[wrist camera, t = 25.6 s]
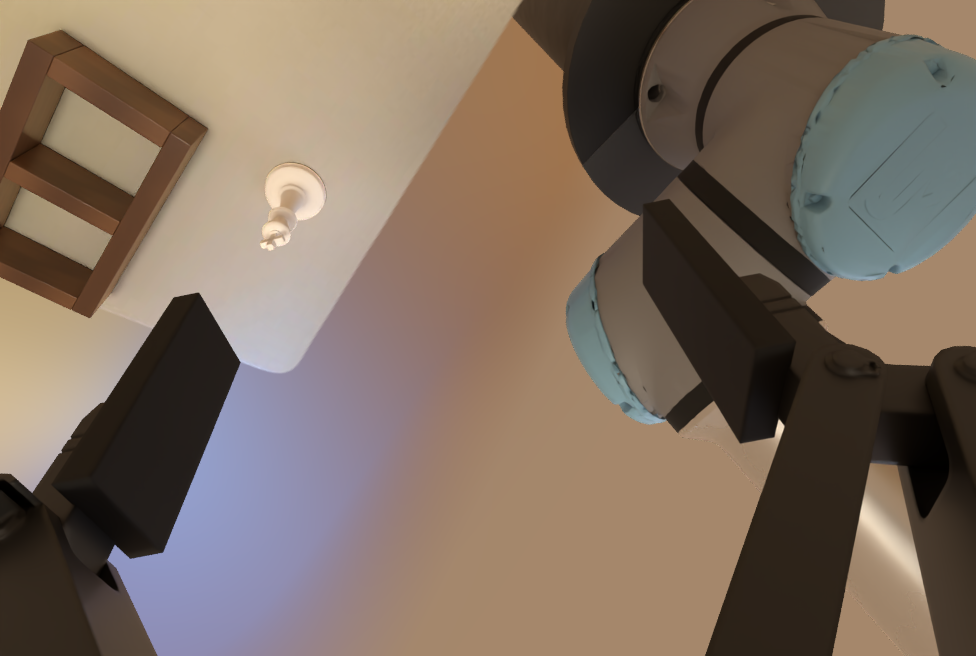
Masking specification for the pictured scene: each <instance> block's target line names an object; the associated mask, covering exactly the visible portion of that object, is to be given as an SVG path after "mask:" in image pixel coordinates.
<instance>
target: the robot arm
mask: <svg viewBox="0 0 976 656" xmlns="http://www.w3.org/2000/svg"><path fill="white" fill-rule="evenodd" d="M633 97H634V110H635V116H636V120H637V124H638V126H639V129H640V131H641V133H642V135H643V137H644V139H645V140H646V142H647V143H648V145H649V146H650V147H651V148H652V149H653V150H654V151H655V152H656V153H657V154H658V155H659V156H660V157H661V158H662V159H663V160H664V161H666V162H667V163H668V164H670V165H671V166H673V167H675V168H677V169H679V170H682V172H681V173H680V174H679V175H678V176H677V177H676V178H675V179H674V180H673V181H672V182H671V183H670V184H669V185H668V186H667V188H666V189H665V190H664V191H663V192H662V193H661V194H660V195H659V196H658V197H657V198H656V199H655V200H654V202H650V203H645V204H643V213H642V214H641V216H640V217H639V218H638V219H637V220H636V221H635V222H634V223H633V224H632V225H631V226H630V227H629V228H628V229H627V230H626V231H625V232H624V233H623V235H621V237H620V238H619V239H618V240H617V241H616V242H615V243H614V244H613V245H612V246H611V247H610V248H609V249H608V250H607V251H606V252H605V253H603V254H602V255H600V256H599V257H598V258H597V259H596V260H595V261H594V263H593V265H592V267H591V270H590V271H589V272H588V273H587V275H586V276H585V277H584V278H583V279H582V280H581V282H580V283H579V284H578V285H577V286H576V287H575V289H574V290H573V291H572V293H571V294H570V296H569V299H568V301H567V306H566V317H567V318H566V325H567V330H568V334H569V337H570V340H571V343H572V345H573V348H574V350H575V352H576V354H577V356H578V358H579V359H580V361H581V363H582V365H583V367H584V368H585V370H586V371H587V373H588V374H589V376H590V377H591V379H592V380H593V382H594V383H595V384H596V385H597V386H598V388H599V389H600V390H601V392H602V393H603V394H604V395H605V396H606V397H607V398H608V399H609V400H610V401H611V402H612V403H613V404H619V405H620V407H621V409H622V411H623V412H624V413H625V414H626V415H627V416H629V417H630V418H632V419H634V420H636V421H638V422H641V423H645V424H655V423H662V422H665V421H666V420H667V421H668V422H669V423H670V424H671V425H672V427H673V428H674V429H675V430H676V432H677V433H678V434H679V435H680V436H681V437H682V438H688V439H695V440H703V441H710V442H712V443H714V444H717V445H719V446H720V447H721V448H722V450H723V451H724V452H725V453H726V454H727V455H728V456H729V458H731V460H732V461H733V462H734V463H735V464H736V465H737V467H738V468H739V469H740V470H741V471H742V472H743V473H744V475H745V476H746V477H747V478H748V479H749V480H750V481H751V482H752V484H753V485H754V486H755V487H756V488H757V489H758V490H759V492H761V496H760V499H759V502H758V505H757V507H756V511H755V513H754V516H753V519H752V522H751V525H750V528H749V531H748V533H747V536H746V539H745V542H744V545H743V548H742V551H741V554H740V557H739V560H738V562H737V565H736V568H735V571H734V574H733V577H732V580H731V582H730V586H729V588H728V591H727V594H726V597H725V600H724V603H723V605H722V608H721V612H720V614H719V617H718V620H717V623H716V626H715V629H714V632H713V635H712V638H711V640H710V643H709V646H708V649H707V652H706V655H705V656H832V653H833V648H834V643H835V638H836V633H837V627H838V622H839V618H840V613H841V608H842V602H843V598H844V593H845V589H846V590H847V591H848V593H849V594H850V595H851V596H852V597H853V598H854V599H855V600H856V602H857V603H858V604H859V605H860V606H861V607H862V608H863V610H864V611H865V612H866V613H867V614H868V615H869V616H870V617H871V619H872V620H873V621H874V622H875V623H876V624H877V625H878V626H879V628H880V629H881V630H882V631H883V632H884V633H885V634H886V636H887V637H888V638H889V639H890V640H891V641H892V642H893V643H894V645H895V646H896V647H897V648H898V649H899V650H900V651H901V652H902V654H903V655H904V656H976V347H971V346H954V347H950V348H947V349H943V350H941V351H940V352H939V353H938V354H937V355H936V356H935V357H934V359H933V362H932V364H931V366H911V365H891V364H884V362H883V361H882V360H881V359H880V357H878V356H877V355H875V354H873V353H872V352H870V351H869V350H867V349H864V348H861V347H858V346H855V345H850V344H846V343H844V342H842V341H841V340H839V339H838V338H836V337H835V336H833V335H831V334H830V333H829V332H828V325H827V323H826V322H825V321H824V320H822V319H821V318H820V317H819V316H818V315H817V314H815V312H814V311H812V309H811V308H809V307H808V306H807V304H806V301H807V300H808V299H809V298H810V297H811V296H813V295H814V294H815V293H816V292H817V291H818V290H820V289H821V288H822V287H823V286H825V285H826V284H827V283H828V282H829V281H831V280H832V279H833V278H834V277H836V276H837V277H840V278H846V279H851V280H860V281H864V280H869V281H870V280H876V279H880V278H883V277H884V276H885V275H886V273H887V272H888V271H890V272H892V273H895V274H898V273H901V272H904V271H906V270H909V269H911V268H913V267H914V266H916V265H918V264H920V263H921V262H923V261H924V260H926V259H927V258H929V257H931V256H932V255H934V254H935V253H936V252H938V251H939V250H940V249H942V248H943V247H944V246H945V245H946V244H947V243H949V242H950V241H951V240H952V239H953V238H954V237H955V236H956V235H957V234H958V233H959V232H960V231H961V230H962V229H963V228H964V227H965V226H966V225H967V224H968V222H969V221H970V220H971V219H972V218H973V216H974V215H975V214H976V60H975V59H973V58H971V57H969V56H967V55H964V54H961V53H958V52H955V51H952V50H949V49H946V48H944V47H942V46H941V45H939V44H937V43H935V42H934V41H933V40H931V39H929V38H923V37H922V36H918V35H899V34H894V33H890V32H886V31H881V30H877V29H872V28H868V27H863V26H859V25H854V24H850V23H846V22H841V21H837V20H832V19H828V18H827V17H826V16H825V14H824V13H823V11H822V10H821V9H820V7H819V6H818V5H817V3H816V2H815V1H814V0H680V1H679V2H678V3H677V4H676V5H675V6H674V7H673V8H672V9H671V10H670V11H669V12H668V13H667V15H666V16H665V17H664V18H663V19H662V21H661V22H660V23H659V25H658V26H657V28H656V29H655V31H654V32H653V34H652V35H651V37H650V39H649V41H648V43H647V45H646V47H645V49H644V51H643V54H642V56H641V59H640V62H639V65H638V68H637V73H636V77H635V83H634V96H633ZM240 363H241V362H240V361H239V359H238V357H237V356H236V354H235V352H234V351H233V349H232V347H231V346H230V344H229V342H228V341H227V339H226V337H225V335H224V334H223V332H222V330H221V329H220V327H219V325H218V324H217V322H216V320H215V319H214V317H213V315H212V314H211V312H210V310H209V308H208V307H207V305H206V303H205V302H204V300H203V298H202V297H201V295H200V293H194V294H189V295H184V296H179V297H174V298H173V299H172V301H171V302H170V304H169V305H168V307H167V308H166V310H165V311H164V313H163V315H162V316H161V318H160V319H159V321H158V322H157V324H156V325H155V327H154V328H153V330H152V332H151V333H150V334H149V336H148V337H147V339H146V341H145V342H144V344H143V345H142V347H141V348H140V350H139V351H138V353H137V354H136V356H135V357H134V359H133V360H132V362H131V363H130V365H129V366H128V368H127V369H126V371H125V373H124V374H123V376H122V377H121V379H120V380H119V382H118V383H117V385H116V386H115V388H114V389H113V391H112V392H111V394H110V395H109V397H108V398H107V400H106V401H105V402H104V403H100V404H99V405H98V406H97V407H96V408H94V409H93V410H92V411H91V412H90V413H89V414H88V415H87V416H86V417H85V418H83V419H82V421H81V422H80V424H79V425H78V427H77V428H76V429H75V431H74V432H73V434H72V436H71V439H70V440H68V441H67V443H66V444H65V446H64V447H63V449H62V453H60V454H58V456H57V457H56V459H55V460H54V462H53V463H52V465H51V466H50V468H49V469H48V471H47V472H46V474H45V475H44V477H43V478H42V480H41V481H40V483H39V484H38V485H37V487H36V488H35V490H34V491H33V493H31V492H30V491H29V490H28V489H27V488H26V487H25V486H24V485H22V484H21V483H20V482H19V481H18V480H17V479H16V478H15V477H13V476H12V475H11V474H0V656H157V654H156V652H155V650H154V648H153V646H152V643H151V642H150V639H149V637H148V635H147V633H146V631H145V628H144V626H143V624H142V622H141V620H140V618H139V616H138V613H137V611H136V609H135V607H134V605H133V603H132V601H131V599H130V596H129V594H128V592H127V590H126V588H125V586H124V584H123V582H122V579H121V577H120V575H119V573H118V571H117V569H116V568H115V567H114V566H113V565H112V564H111V563H110V562H109V561H108V560H107V559H108V557H109V555H110V553H111V551H112V549H113V547H114V545H116V546H117V547H118V548H119V549H120V550H122V551H123V552H124V553H125V554H126V555H127V556H128V557H129V558H130V559H131V558H136V557H142V556H147V555H152V554H158V553H163V551H164V549H165V546H166V544H167V541H168V539H169V537H170V534H171V532H172V529H173V527H174V524H175V522H176V519H177V517H178V514H179V512H180V510H181V507H182V504H183V502H184V500H185V497H186V495H187V492H188V490H189V488H190V485H191V483H192V480H193V478H194V475H195V473H196V470H197V468H198V466H199V463H200V461H201V458H202V456H203V453H204V450H205V448H206V446H207V443H208V441H209V439H210V436H211V434H212V431H213V429H214V426H215V424H216V421H217V419H218V417H219V414H220V412H221V409H222V407H223V404H224V401H225V399H226V397H227V394H228V392H229V390H230V387H231V385H232V382H233V380H234V377H235V374H236V372H237V370H238V368H239V365H240Z"/></svg>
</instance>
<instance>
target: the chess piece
mask: <svg viewBox="0 0 976 656" xmlns="http://www.w3.org/2000/svg"><path fill="white" fill-rule="evenodd" d="M265 195H266V198H267V201H268V203H269V204H270V206H271V207H272V208H273V209H272V210H271V211H270V212H269V215H268V220H269V222H267V223H266V224H265V225H264V226H263V228H262V235H263V237H264V239H265V240H262V241H261V242H260V245H261V247H262V249H264V248H268V250H269V251H270V250H273V249H275V247H276V246H283V245H285V244H287V243H288V242H289V240H290V238H291V232H290V231H292V230H294V229H295V228H296V226H297V220H306V219H309V218H311V217H313V216H315V215H316V214H317V213H318V212H319V211H320V210H321V209H322V207H323V205H324V203H325V200H326V190H325V186H324V184H323V182H322V180H321V179H320V177H319V176H318V175H317V174H316V173H315V172H314V171H313V170H311V169H310V168H308V167H306V166H304V165H301V164H297V163H284V164H281V165H278V166H276V167H275V168H274V169H272V170H271V171H270V173H269V174H268V176H267V178H266V182H265Z"/></svg>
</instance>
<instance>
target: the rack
mask: <svg viewBox="0 0 976 656" xmlns="http://www.w3.org/2000/svg"><path fill="white" fill-rule="evenodd" d="M65 87H66V88H67V89H69V90H71V91H72V92H74V93H75V94H77V95H79V96H80V97H82V98H83V99H85V100H87V101H88V102H90V103H91V104H93V105H94V106H96V107H98V108H99V109H101V110H102V111H104V112H106V113H107V114H109V115H110V116H112V117H113V118H115V119H117V120H118V121H120V122H121V123H123V124H125V125H126V126H128V127H129V128H131V129H132V130H134V131H136V132H137V133H139V134H140V135H142V136H144V137H145V138H147V139H148V140H150V141H151V142H153V143H155V144H156V145H158V146H159V147H162V148H161V150H160V152H159V154H158V156H157V157H156V159H155V161H154V163H153V164H152V166H151V168H150V170H149V172H148V173H147V175H146V177H145V179H144V181H143V182H142V184H141V186H140V188H139V190H138V191H137V193H136V195H135V197H132V196H131V195H129V194H127V193H125V192H124V191H122V190H120V189H118V188H117V187H115V186H113V185H112V184H110V183H108V182H106V181H105V180H103V179H101V178H99V177H98V176H96V175H94V174H92V173H91V172H89V171H87V170H86V169H84V168H82V167H80V166H79V165H77V164H75V163H73V162H72V161H70V160H68V159H66V158H65V157H63V156H61V155H60V154H58V153H56V152H54V151H53V150H51V149H49V148H47V147H46V146H44V145H42V144H40V142H41V140H42V138H43V135H44V133H45V131H46V129H47V126H48V124H49V122H50V120H51V117H52V115H53V113H54V111H55V108H56V106H57V104H58V102H59V99H60V97H61V95H62V93H63V90H64V88H65ZM206 132H207V128H206V127H204V126H203V125H201V124H200V123H198V122H197V121H195V120H194V119H192V118H191V117H189V116H188V115H186V114H185V113H184V112H182V111H181V110H179V109H178V108H176V107H175V106H173V105H172V104H170V103H169V102H167V101H166V100H164V99H163V98H161V97H160V96H158V95H157V94H155V93H154V92H152V91H151V90H149V89H148V88H146V87H145V86H143V85H142V84H140V83H139V82H137V81H136V80H134V79H133V78H131V77H130V76H129V75H127V74H126V73H124V72H123V71H121V70H120V69H118V68H117V67H115V66H114V65H112V64H111V63H109V62H108V61H106V60H105V59H103V58H102V57H100V56H99V55H97V54H96V53H94V52H93V51H91V50H90V49H88V48H87V47H85V46H83V45H82V44H81V43H79V42H78V41H76V40H75V39H73V38H72V37H70V36H69V35H67V34H66V33H64V32H63V31H61V30H59V31H56V32H53V33H49V34H46V35H43V36H40V37H36V38H33V39H30V40H28V42H27V44H26V47H25V49H24V52H23V54H22V57H21V59H20V62H19V64H18V67H17V70H16V72H15V75H14V77H13V80H12V82H11V85H10V87H9V90H8V92H7V95H6V97H5V100H4V103H3V105H2V108H1V110H0V277H1V278H3V279H6V280H8V281H10V282H12V283H14V284H16V285H19V286H21V287H23V288H25V289H27V290H29V291H31V292H33V293H36V294H38V295H40V296H42V297H44V298H46V299H49V300H51V301H53V302H55V303H57V304H59V305H62V306H64V307H66V308H68V309H70V310H71V309H72V310H73V311H75V312H77V313H79V314H81V315H84V316H86V317H88V318H90V317H92V315H93V314H94V313H95V312H96V311H97V309H98V308H99V307H100V306H101V304H102V303H103V302H104V301H105V300H106V298H107V297H108V296H109V295H110V294H111V292H112V290H113V289H114V287H115V285H116V284H117V282H118V280H119V278H120V277H121V275H122V273H123V272H124V270H125V268H126V267H127V265H128V263H129V262H130V260H131V258H132V257H133V255H134V253H135V251H136V250H137V248H138V246H139V245H140V243H141V241H142V240H143V238H144V236H145V235H146V233H147V231H148V230H149V228H150V226H151V224H152V223H153V221H154V219H155V218H156V216H157V214H158V213H159V211H160V209H161V208H162V206H163V204H164V203H165V201H166V199H167V197H168V196H169V194H170V192H171V191H172V189H173V187H174V186H175V184H176V182H177V181H178V179H179V177H180V175H181V174H182V172H183V170H184V169H185V167H186V165H187V164H188V162H189V160H190V159H191V157H192V155H193V154H194V152H195V150H196V148H197V147H198V145H199V143H200V142H201V140H202V138H203V137H204V135H205V133H206ZM20 187H23V188H25V189H27V190H29V191H31V192H32V193H34V194H36V195H38V196H40V197H42V198H44V199H46V200H47V201H49V202H51V203H53V204H55V205H57V206H59V207H60V208H62V209H64V210H66V211H68V212H70V213H72V214H73V215H75V216H77V217H79V218H81V219H83V220H85V221H86V222H88V223H90V224H92V225H94V226H96V227H98V228H100V229H101V230H103V231H105V232H107V233H109V234H111V235H113V236H112V238H111V240H110V241H109V243H108V245H107V247H106V248H105V250H104V252H103V254H102V256H101V257H100V259H99V261H98V263H97V265H96V266H95V268H94V270H93V271H92V270H90V269H88V268H86V267H84V266H82V265H80V264H78V263H76V262H74V261H72V260H70V259H68V258H66V257H64V256H62V255H60V254H58V253H56V252H54V251H52V250H50V249H48V248H46V247H44V246H42V245H40V244H38V243H36V242H34V241H32V240H30V239H28V238H26V237H24V236H22V235H20V234H18V233H16V232H14V231H12V230H10V229H8V228H6V227H4V223H5V221H6V219H7V217H8V214H9V212H10V210H11V208H12V205H13V203H14V201H15V199H16V196H17V194H18V192H19V190H20Z"/></svg>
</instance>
